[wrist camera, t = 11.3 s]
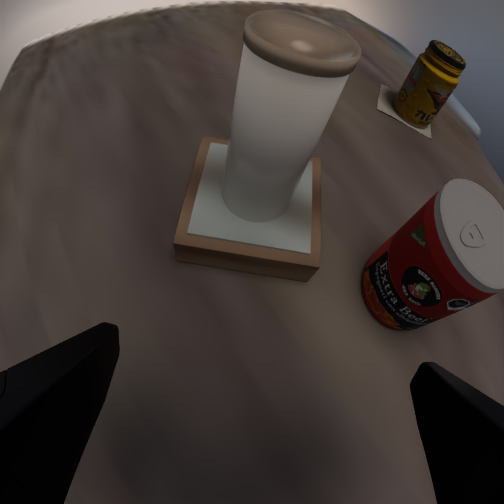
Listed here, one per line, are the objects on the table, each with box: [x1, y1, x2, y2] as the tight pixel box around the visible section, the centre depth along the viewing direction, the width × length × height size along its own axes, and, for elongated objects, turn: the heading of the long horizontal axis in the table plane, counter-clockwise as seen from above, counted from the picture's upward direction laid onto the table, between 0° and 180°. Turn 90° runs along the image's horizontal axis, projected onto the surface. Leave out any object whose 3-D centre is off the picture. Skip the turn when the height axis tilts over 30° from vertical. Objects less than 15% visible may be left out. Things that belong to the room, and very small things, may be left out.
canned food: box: [362, 179, 504, 330], centre depth 20 cm, size 8×8×11 cm
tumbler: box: [222, 10, 361, 222], centre depth 17 cm, size 5×5×13 cm
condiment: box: [377, 40, 466, 138], centre depth 31 cm, size 7×8×12 cm
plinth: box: [173, 137, 321, 282], centre depth 24 cm, size 10×10×3 cm
